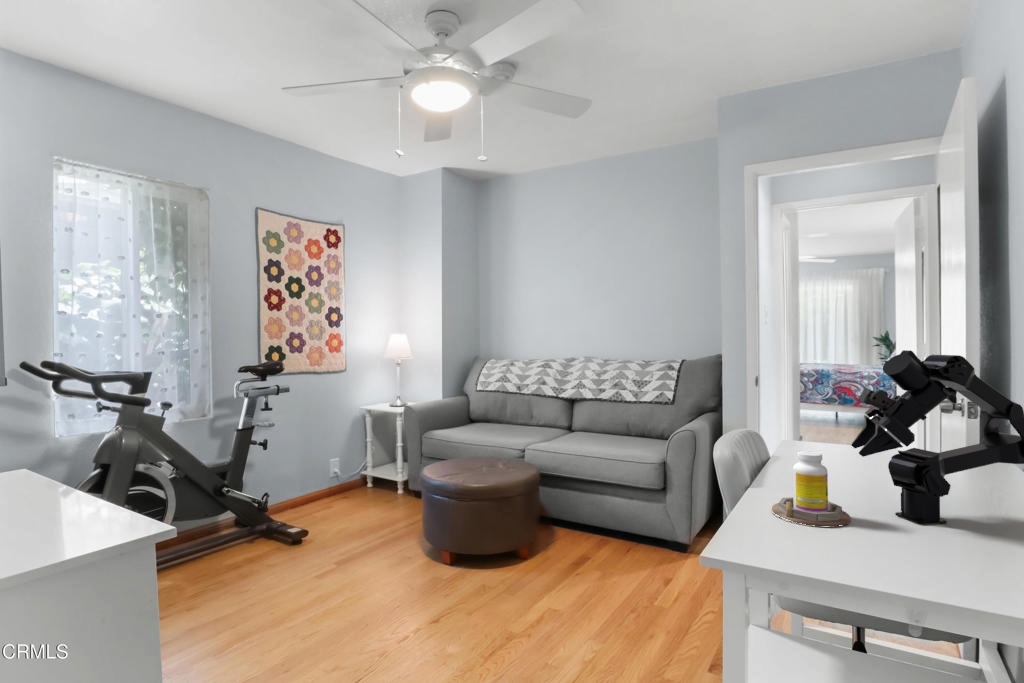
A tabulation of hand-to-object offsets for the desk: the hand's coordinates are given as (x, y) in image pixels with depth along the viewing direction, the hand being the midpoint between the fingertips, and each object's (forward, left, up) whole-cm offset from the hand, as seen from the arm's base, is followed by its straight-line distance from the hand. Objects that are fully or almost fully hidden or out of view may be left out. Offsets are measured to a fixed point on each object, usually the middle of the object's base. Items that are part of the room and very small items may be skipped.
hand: (856, 450), depth 122 cm
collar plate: (-1, +12, -14) cm, 18 cm away
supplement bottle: (-1, +12, -13) cm, 17 cm away
